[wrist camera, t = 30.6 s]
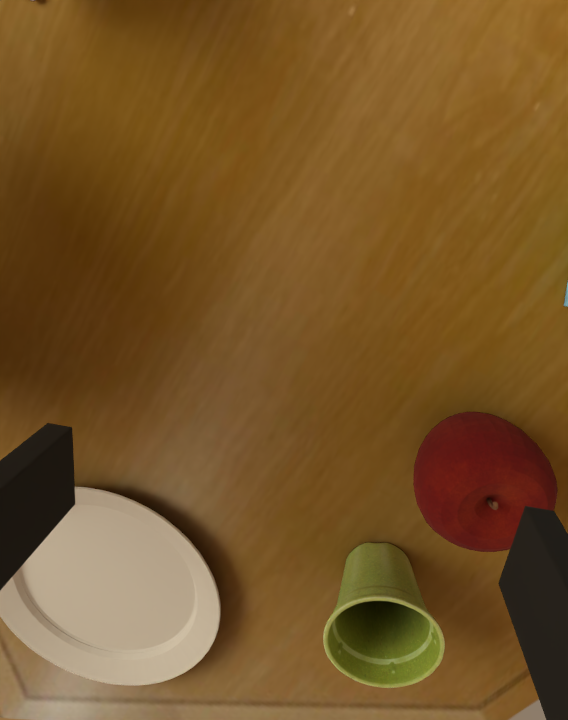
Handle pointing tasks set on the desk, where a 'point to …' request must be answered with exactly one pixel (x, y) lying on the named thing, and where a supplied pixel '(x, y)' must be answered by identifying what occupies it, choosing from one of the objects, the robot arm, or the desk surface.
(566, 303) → the vase
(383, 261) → the desk surface
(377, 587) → the plant pot
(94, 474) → the desk surface
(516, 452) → the apple
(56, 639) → the plate
